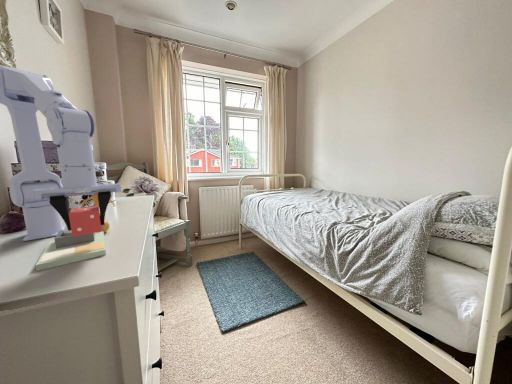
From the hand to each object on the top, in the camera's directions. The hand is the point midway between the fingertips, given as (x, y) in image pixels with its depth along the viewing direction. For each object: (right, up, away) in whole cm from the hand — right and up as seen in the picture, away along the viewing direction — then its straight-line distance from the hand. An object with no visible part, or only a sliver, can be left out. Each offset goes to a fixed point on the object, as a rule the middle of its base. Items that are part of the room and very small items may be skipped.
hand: (87, 226), depth 47 cm
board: (-5, -6, +3) cm, 8 cm away
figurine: (-8, -4, +15) cm, 17 cm away
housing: (-7, -4, +5) cm, 10 cm away
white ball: (-7, -4, +5) cm, 10 cm away
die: (0, -1, 0) cm, 1 cm away
